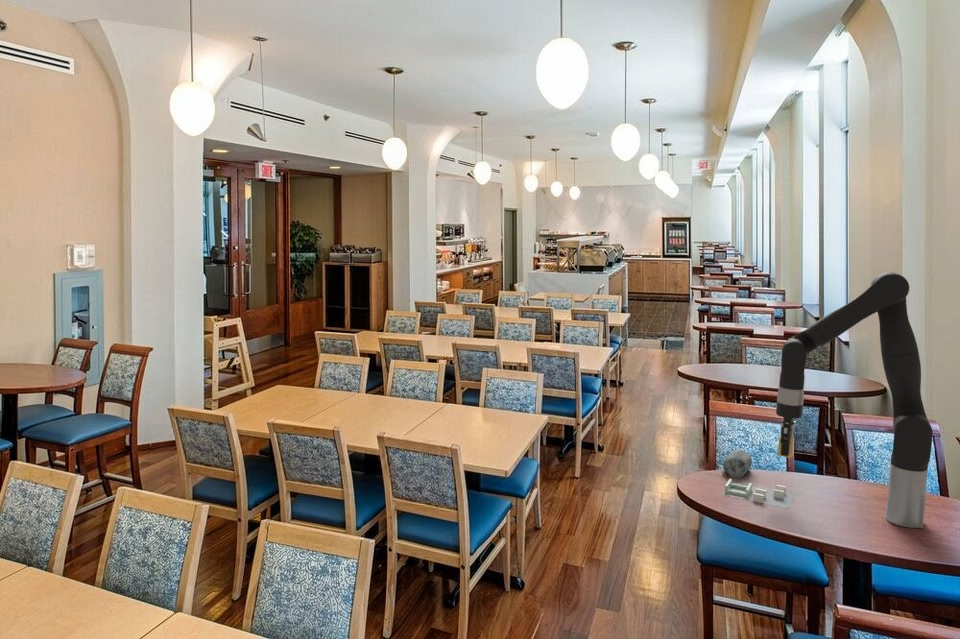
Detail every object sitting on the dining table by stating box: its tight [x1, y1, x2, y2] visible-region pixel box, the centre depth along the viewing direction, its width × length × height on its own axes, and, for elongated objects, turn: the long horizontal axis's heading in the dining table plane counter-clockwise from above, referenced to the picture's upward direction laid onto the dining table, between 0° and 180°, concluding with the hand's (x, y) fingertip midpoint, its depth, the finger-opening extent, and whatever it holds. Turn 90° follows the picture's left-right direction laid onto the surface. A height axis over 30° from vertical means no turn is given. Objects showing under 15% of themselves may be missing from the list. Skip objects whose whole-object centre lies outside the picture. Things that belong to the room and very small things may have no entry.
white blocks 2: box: [773, 484, 787, 499], centre depth 208 cm, size 3×6×2 cm, turn 148°
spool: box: [722, 449, 753, 478], centre depth 229 cm, size 14×10×10 cm
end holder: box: [724, 478, 753, 497], centre depth 211 cm, size 7×7×2 cm
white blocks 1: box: [752, 488, 766, 504], centre depth 205 cm, size 3×6×2 cm, turn 148°
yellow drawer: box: [777, 434, 795, 459], centre depth 204 cm, size 4×4×7 cm
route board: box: [721, 481, 795, 510], centre depth 209 cm, size 20×14×1 cm
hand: (785, 453), depth 205 cm, fingers closed on yellow drawer, 4 cm apart
